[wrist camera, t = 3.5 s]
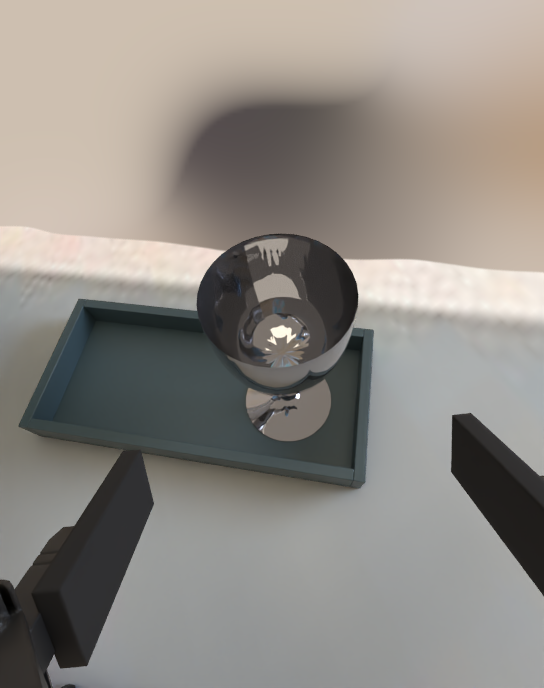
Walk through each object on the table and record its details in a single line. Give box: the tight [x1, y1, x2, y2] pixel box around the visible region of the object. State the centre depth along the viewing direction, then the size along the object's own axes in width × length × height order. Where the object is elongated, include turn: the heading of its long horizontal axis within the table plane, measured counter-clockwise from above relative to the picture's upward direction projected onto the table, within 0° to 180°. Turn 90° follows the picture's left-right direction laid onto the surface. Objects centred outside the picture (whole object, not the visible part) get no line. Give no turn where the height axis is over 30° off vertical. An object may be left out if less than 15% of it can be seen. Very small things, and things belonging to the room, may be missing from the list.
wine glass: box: [197, 234, 358, 442], centre depth 26 cm, size 8×8×15 cm
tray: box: [19, 299, 374, 488], centre depth 32 cm, size 27×12×3 cm, turn 80°
